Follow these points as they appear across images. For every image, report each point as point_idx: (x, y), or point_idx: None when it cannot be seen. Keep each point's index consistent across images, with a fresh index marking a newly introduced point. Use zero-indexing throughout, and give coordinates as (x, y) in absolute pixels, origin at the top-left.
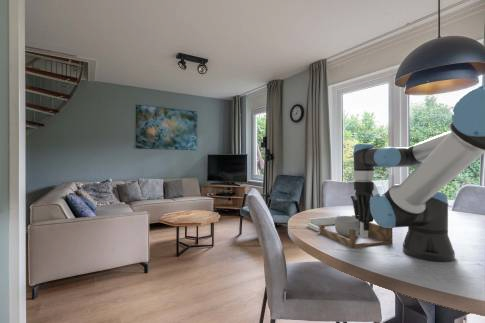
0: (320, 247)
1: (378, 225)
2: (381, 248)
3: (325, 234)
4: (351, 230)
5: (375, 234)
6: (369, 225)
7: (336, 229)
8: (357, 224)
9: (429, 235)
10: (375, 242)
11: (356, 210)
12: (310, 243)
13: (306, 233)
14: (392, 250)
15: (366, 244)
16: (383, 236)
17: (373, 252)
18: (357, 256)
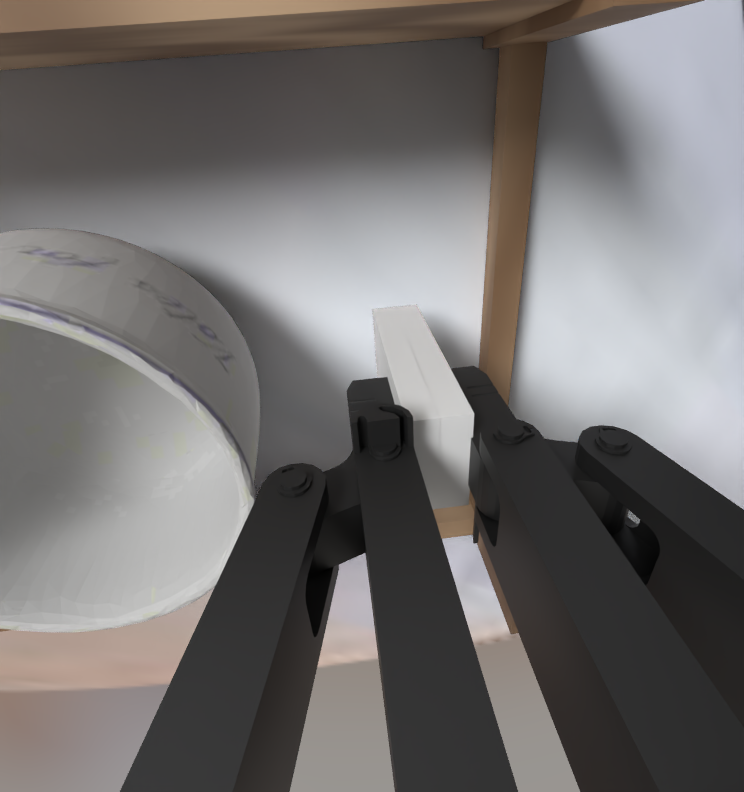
0: None
1: (350, 10)
2: (599, 279)
3: None
4: None
5: (272, 45)
6: (79, 40)
7: (117, 513)
8: (235, 406)
9: None
10: (513, 276)
11: (302, 711)
12: (323, 657)
13: (65, 633)
14: (691, 212)
15: (508, 386)
16: (443, 30)
17: (628, 407)
18: None
